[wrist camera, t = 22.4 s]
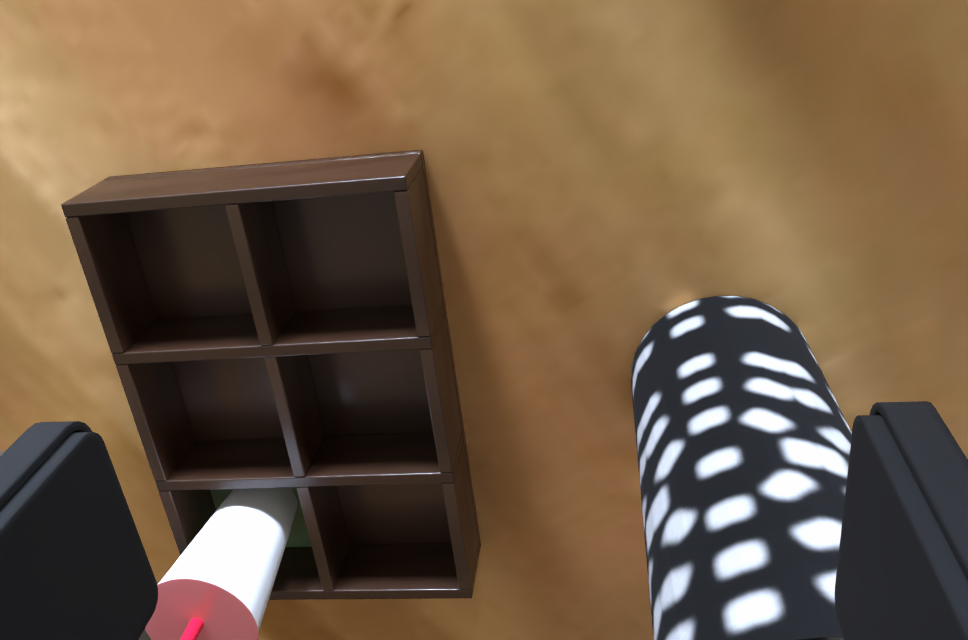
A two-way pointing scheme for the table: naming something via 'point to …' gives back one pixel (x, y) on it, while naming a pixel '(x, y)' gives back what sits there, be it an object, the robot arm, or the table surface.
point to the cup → (226, 570)
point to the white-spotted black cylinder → (738, 475)
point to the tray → (293, 361)
